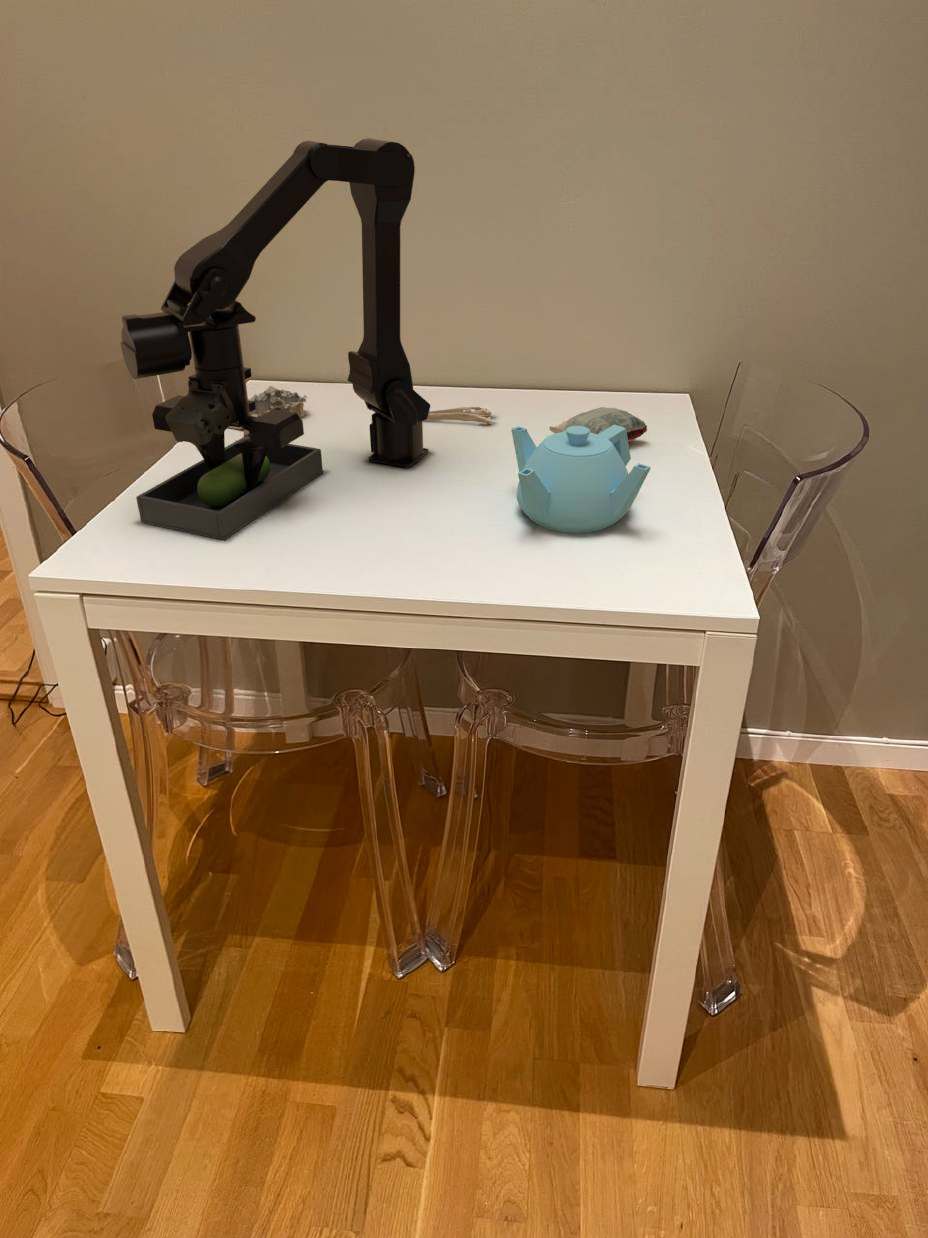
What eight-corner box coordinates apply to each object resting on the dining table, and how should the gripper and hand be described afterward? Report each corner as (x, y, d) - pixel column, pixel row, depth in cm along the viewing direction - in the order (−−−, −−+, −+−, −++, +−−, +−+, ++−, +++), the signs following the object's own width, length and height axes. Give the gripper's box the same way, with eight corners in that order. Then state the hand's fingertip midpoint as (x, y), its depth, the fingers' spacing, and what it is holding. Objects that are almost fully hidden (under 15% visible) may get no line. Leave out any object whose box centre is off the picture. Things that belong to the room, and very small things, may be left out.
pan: (323, 472, 127) (321, 448, 126) (224, 540, 110) (220, 513, 108) (247, 459, 132) (244, 436, 130) (141, 522, 114) (135, 496, 113)
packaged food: (548, 444, 136) (550, 411, 133) (606, 426, 142) (608, 394, 139) (591, 463, 130) (594, 428, 127) (649, 443, 136) (653, 410, 134)
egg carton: (272, 435, 140) (269, 408, 138) (231, 428, 143) (228, 401, 141) (313, 413, 148) (310, 387, 146) (273, 406, 151) (270, 381, 149)
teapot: (646, 540, 110) (655, 452, 104) (516, 541, 109) (519, 453, 104) (625, 487, 123) (632, 407, 117) (509, 488, 122) (511, 408, 117)
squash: (278, 478, 125) (275, 447, 122) (222, 515, 115) (216, 481, 113) (250, 473, 126) (246, 442, 124) (192, 509, 117) (186, 476, 114)
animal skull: (492, 415, 147) (491, 403, 146) (491, 426, 143) (490, 413, 142) (381, 421, 148) (379, 408, 147) (377, 432, 144) (375, 419, 143)
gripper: (109, 373, 109) (135, 498, 117) (244, 393, 103) (261, 523, 111) (172, 349, 118) (191, 466, 126) (299, 365, 111) (311, 488, 119)
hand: (236, 485), depth 120 cm, fingers closed on squash, 4 cm apart
